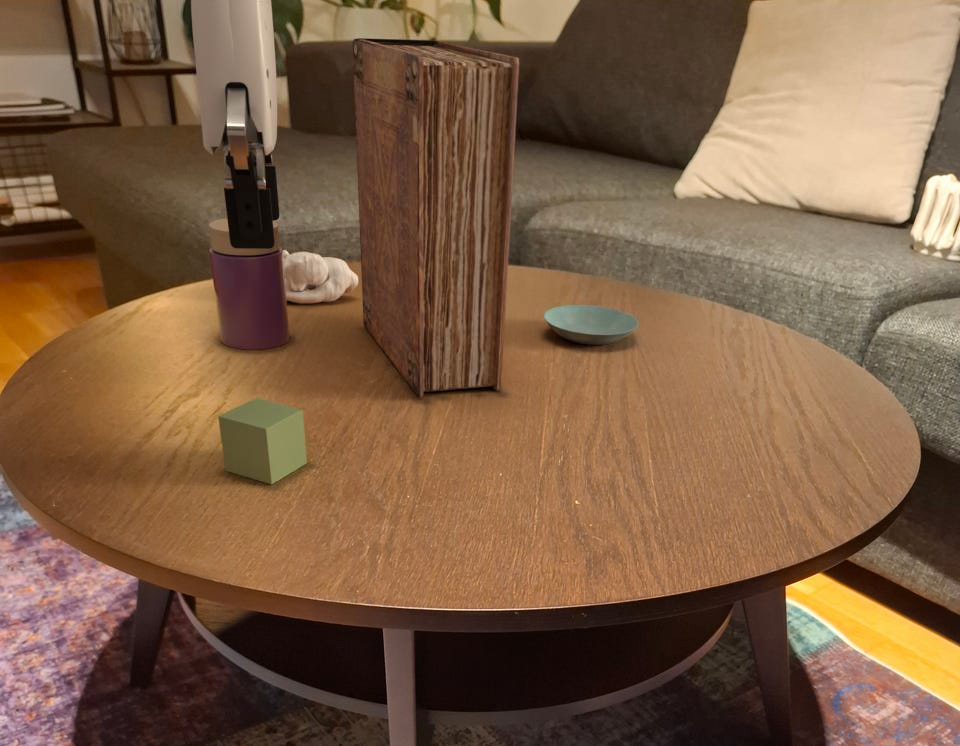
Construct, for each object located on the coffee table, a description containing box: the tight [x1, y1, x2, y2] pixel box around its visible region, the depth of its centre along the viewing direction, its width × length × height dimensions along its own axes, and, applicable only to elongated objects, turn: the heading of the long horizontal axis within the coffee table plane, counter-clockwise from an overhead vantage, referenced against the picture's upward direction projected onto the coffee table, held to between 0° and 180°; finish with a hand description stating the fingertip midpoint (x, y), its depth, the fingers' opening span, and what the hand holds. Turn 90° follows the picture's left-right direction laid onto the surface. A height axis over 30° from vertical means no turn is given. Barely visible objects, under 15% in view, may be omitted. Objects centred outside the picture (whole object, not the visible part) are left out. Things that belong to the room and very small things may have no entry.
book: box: [351, 37, 520, 400], centre depth 95 cm, size 25×9×30 cm, turn 19°
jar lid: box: [208, 217, 281, 255], centre depth 100 cm, size 8×8×2 cm
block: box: [218, 397, 308, 485], centre depth 77 cm, size 5×5×5 cm
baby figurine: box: [282, 249, 359, 305], centre depth 119 cm, size 9×12×8 cm
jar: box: [208, 246, 291, 351], centre depth 103 cm, size 8×8×12 cm
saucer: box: [543, 304, 640, 346], centre depth 112 cm, size 12×12×2 cm
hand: (256, 232), depth 71 cm, fingers open, 9 cm apart
